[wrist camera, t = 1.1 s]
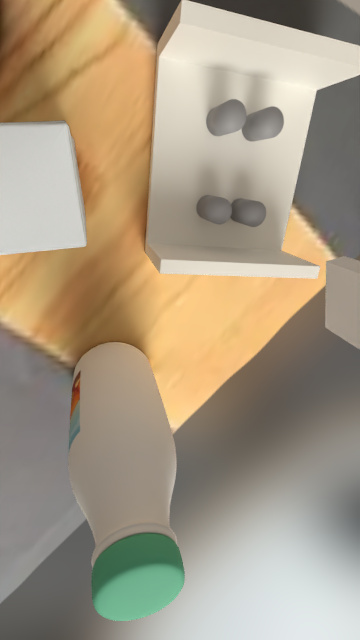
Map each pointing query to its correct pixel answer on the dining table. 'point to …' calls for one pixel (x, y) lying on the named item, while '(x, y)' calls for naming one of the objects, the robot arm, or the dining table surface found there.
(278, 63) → the peg frame
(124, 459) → the milk bottle
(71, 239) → the skincare box
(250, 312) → the dining table surface
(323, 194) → the dining table surface
